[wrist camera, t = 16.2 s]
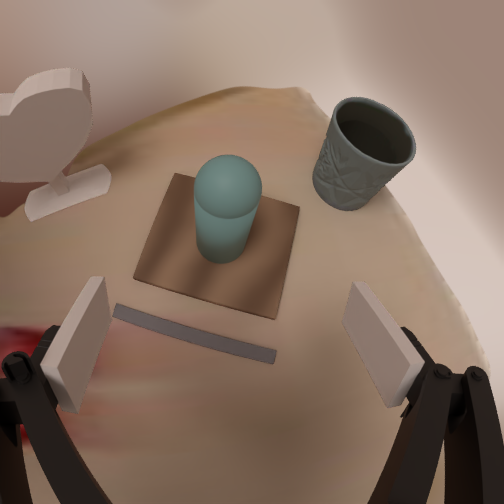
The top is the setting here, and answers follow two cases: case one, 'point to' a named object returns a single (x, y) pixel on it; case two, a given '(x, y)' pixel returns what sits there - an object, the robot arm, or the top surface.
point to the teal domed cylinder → (225, 206)
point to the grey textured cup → (361, 152)
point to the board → (213, 274)
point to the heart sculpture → (49, 140)
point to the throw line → (194, 335)
